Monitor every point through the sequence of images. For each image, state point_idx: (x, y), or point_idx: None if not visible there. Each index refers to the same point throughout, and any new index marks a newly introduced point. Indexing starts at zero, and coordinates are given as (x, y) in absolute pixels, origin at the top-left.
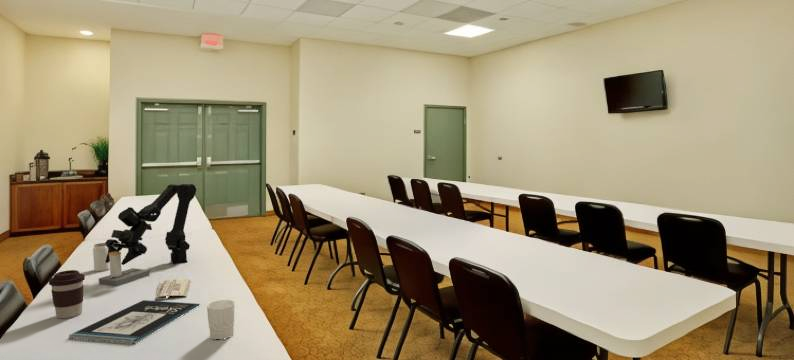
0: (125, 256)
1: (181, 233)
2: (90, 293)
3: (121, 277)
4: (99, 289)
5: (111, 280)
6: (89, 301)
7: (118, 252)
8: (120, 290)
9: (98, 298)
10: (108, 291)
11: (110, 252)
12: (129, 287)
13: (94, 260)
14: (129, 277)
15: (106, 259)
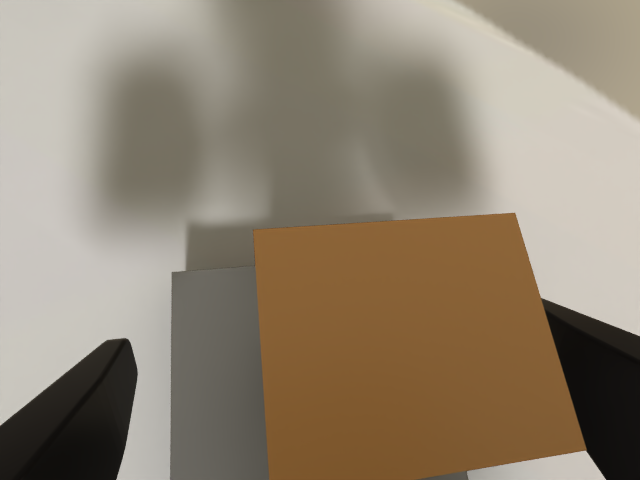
0: (15, 469)
1: None
2: (227, 107)
3: (234, 380)
4: (255, 184)
5: (244, 267)
6: (69, 12)
7: (282, 398)
8: (47, 232)
9: (60, 61)
10: (132, 179)
11: (530, 269)
12: (32, 323)
13: None
14: (174, 450)
15: (563, 314)
